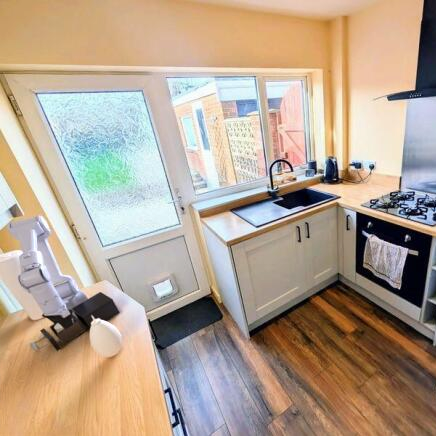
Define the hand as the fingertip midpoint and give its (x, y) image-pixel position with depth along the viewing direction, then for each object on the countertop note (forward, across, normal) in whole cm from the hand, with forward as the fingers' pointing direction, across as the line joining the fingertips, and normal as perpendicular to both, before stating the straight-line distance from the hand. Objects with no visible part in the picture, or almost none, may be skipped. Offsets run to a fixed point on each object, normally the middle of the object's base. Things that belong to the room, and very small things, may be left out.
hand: (66, 326), depth 93 cm
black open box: (+4, +1, +3) cm, 5 cm away
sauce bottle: (+6, -24, -1) cm, 25 cm away
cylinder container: (+4, +30, -4) cm, 31 cm away
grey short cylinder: (+1, 0, 0) cm, 1 cm away
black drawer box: (+5, -1, -10) cm, 11 cm away
